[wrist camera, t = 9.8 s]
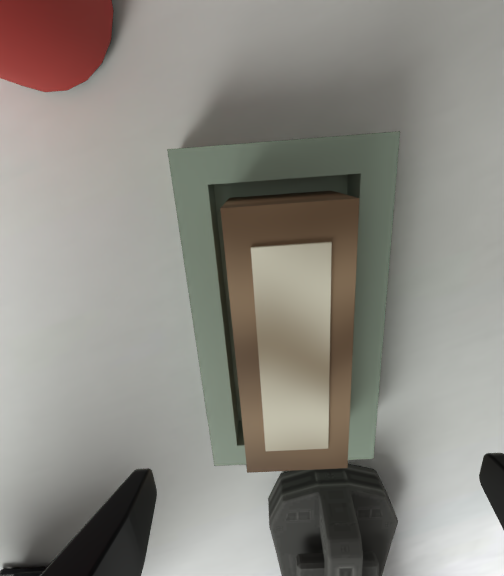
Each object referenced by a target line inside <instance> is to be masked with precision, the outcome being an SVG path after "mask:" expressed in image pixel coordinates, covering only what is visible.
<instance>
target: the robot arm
mask: <svg viewBox="0 0 504 576" xmlns="http://www.w3.org/2000/svg"><path fill="white" fill-rule="evenodd" d="M479 478H480V483H481V485H482V488H483V490H484V492H485V494H486V496H487V498H488V500H489V502H490V504H491V506H492V508H493V510H494V512H495V514H496V516H497V518H498V520H499V522H500V524H501V525H502V527H503V529H504V454H503V453H487V454H485V455H484V458H483V462H482V466H481V470H480V475H479ZM156 496H157V490H156V486H155V481H154V477H153V473H152V470H151V469H137V470H135V471H134V472H133V473H132V474H131V475H130V476H129V477H128V478H127V479H126V480H125V482H124V483H123V484H122V485H121V486H120V487H119V488H118V489H117V491H116V492H115V493H114V494H113V495H112V496H111V497H110V498H109V499H108V501H107V502H106V503H105V504H104V505H103V506H102V507H101V508H100V509H99V511H98V512H97V513H96V514H95V515H94V516H93V517H92V518H91V519H90V521H89V522H88V523H87V524H86V525H85V526H84V527H83V528H82V529H81V531H80V532H79V533H78V534H77V535H76V536H75V537H74V538H73V539H72V541H71V542H70V543H69V544H68V545H67V546H66V547H65V548H64V549H63V551H62V552H61V553H60V554H59V555H58V556H57V557H56V558H55V560H54V561H53V562H52V563H51V564H50V565H49V566H48V567H47V568H23V569H2V570H1V571H0V576H141V573H142V570H143V566H144V561H145V556H146V551H147V546H148V540H149V535H150V530H151V524H152V519H153V514H154V508H155V503H156Z"/></svg>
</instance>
